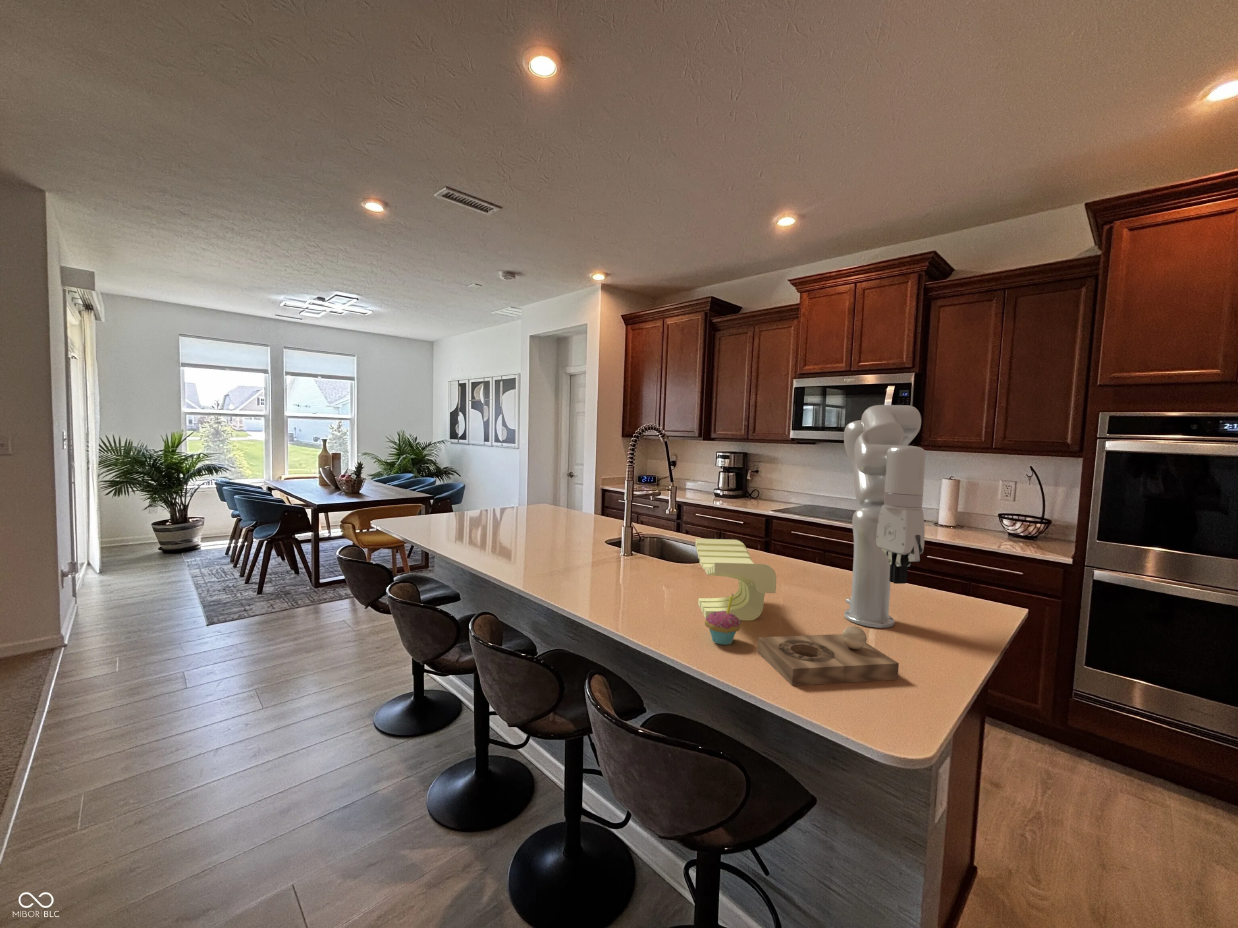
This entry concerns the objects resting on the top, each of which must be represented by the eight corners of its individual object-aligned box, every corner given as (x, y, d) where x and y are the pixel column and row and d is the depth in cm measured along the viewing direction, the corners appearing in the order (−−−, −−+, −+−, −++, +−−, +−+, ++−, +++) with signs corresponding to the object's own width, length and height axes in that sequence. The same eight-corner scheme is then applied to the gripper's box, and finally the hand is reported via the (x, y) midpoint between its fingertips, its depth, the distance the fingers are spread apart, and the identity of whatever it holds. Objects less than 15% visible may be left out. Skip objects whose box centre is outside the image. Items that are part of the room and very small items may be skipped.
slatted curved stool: (773, 632, 132) (777, 564, 131) (711, 630, 132) (714, 562, 131) (743, 595, 162) (746, 539, 161) (693, 594, 162) (695, 538, 161)
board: (850, 647, 124) (851, 633, 124) (897, 679, 108) (898, 663, 108) (757, 651, 120) (758, 637, 119) (792, 685, 104) (792, 668, 104)
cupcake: (734, 634, 130) (737, 587, 129) (744, 648, 121) (746, 598, 121) (701, 633, 130) (703, 587, 129) (708, 647, 121) (710, 597, 120)
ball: (836, 644, 117) (838, 622, 117) (856, 643, 118) (858, 621, 117) (850, 653, 112) (851, 631, 112) (870, 652, 113) (872, 630, 112)
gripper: (866, 497, 121) (861, 574, 122) (912, 505, 107) (907, 592, 107) (894, 497, 123) (889, 573, 123) (944, 506, 108) (938, 592, 109)
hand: (897, 582), depth 115 cm, fingers closed
